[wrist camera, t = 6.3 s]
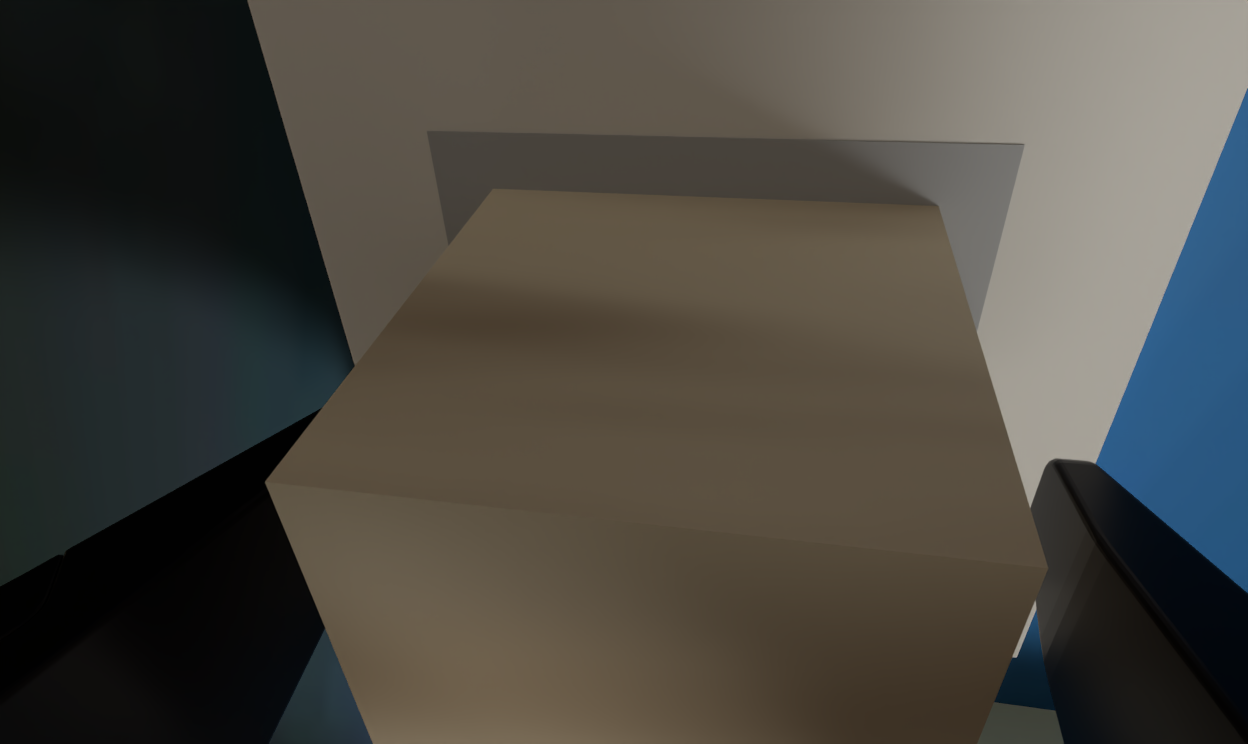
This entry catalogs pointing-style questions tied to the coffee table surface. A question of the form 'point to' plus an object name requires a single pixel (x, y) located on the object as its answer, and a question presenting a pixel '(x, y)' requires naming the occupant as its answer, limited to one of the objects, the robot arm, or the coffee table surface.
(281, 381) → the coffee table surface
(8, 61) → the coffee table surface
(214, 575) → the robot arm
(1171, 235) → the plate
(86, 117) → the coffee table surface
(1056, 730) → the block sage
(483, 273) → the block birch
